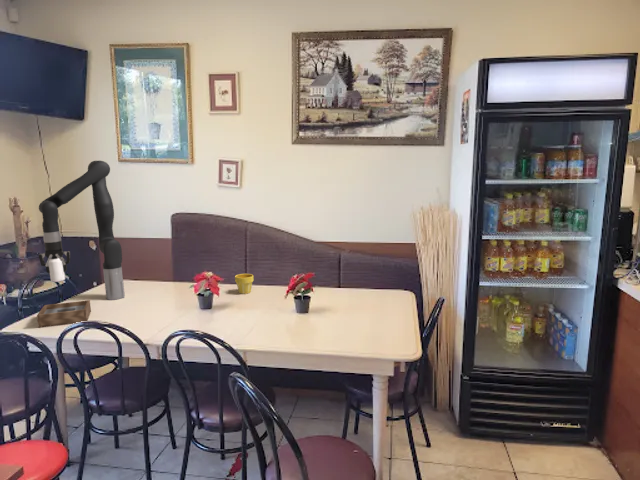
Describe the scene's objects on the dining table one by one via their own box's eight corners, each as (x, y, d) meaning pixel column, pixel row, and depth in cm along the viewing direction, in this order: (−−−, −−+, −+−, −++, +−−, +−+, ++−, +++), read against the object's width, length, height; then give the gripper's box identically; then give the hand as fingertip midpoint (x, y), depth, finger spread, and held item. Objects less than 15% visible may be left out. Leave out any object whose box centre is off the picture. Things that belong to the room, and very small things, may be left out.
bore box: (91, 311, 228) (89, 300, 227) (87, 321, 213) (85, 309, 212) (45, 316, 221) (44, 305, 220) (38, 327, 206) (36, 315, 205)
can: (58, 282, 227) (55, 259, 224) (47, 282, 228) (44, 259, 226) (68, 278, 233) (65, 256, 231) (57, 278, 234) (54, 256, 232)
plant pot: (246, 288, 264) (246, 272, 262) (257, 292, 257) (257, 275, 255) (232, 292, 257) (231, 275, 255) (242, 296, 250) (242, 279, 248)
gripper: (69, 238, 232) (74, 269, 236) (38, 240, 227) (42, 272, 231) (67, 240, 225) (71, 272, 229) (34, 243, 221) (39, 276, 224)
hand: (57, 272), depth 230 cm, fingers closed on can, 6 cm apart
